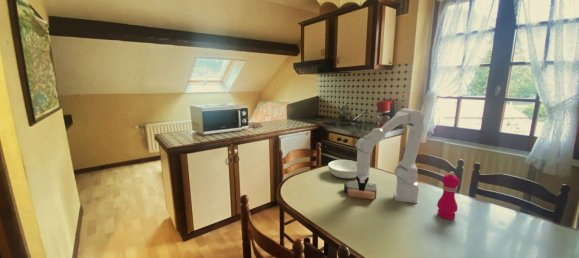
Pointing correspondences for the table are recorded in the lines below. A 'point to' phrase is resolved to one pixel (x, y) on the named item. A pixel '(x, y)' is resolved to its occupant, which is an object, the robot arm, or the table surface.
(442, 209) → the pepper mill
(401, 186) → the robot arm
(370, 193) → the side door
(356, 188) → the camera housing
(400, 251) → the table surface
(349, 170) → the serving bowl
